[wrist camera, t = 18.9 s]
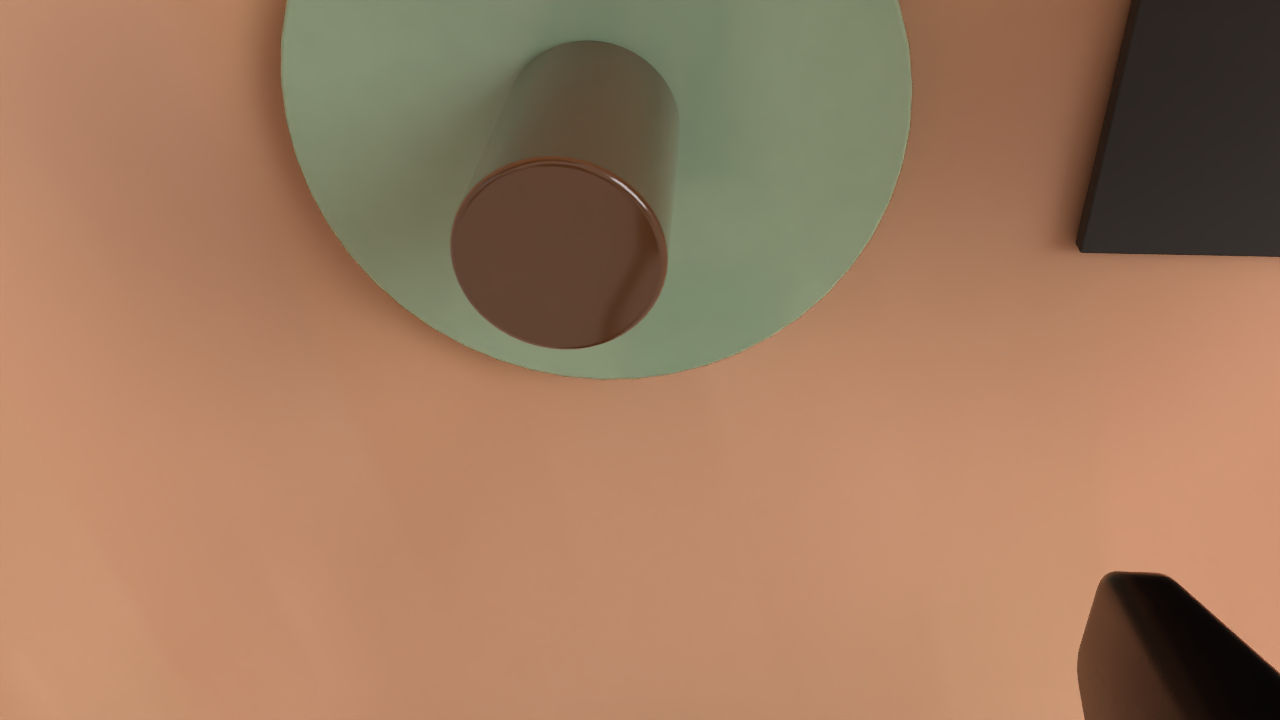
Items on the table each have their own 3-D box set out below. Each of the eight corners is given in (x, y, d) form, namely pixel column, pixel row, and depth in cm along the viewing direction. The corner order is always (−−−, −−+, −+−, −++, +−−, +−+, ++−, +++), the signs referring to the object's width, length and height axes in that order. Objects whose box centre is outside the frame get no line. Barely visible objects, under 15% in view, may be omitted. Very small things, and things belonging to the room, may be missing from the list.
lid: (873, 367, 18) (909, 562, 14) (345, 353, 19) (252, 538, 15) (949, -237, 13) (1032, -172, 10) (233, -233, 14) (56, -170, 10)
